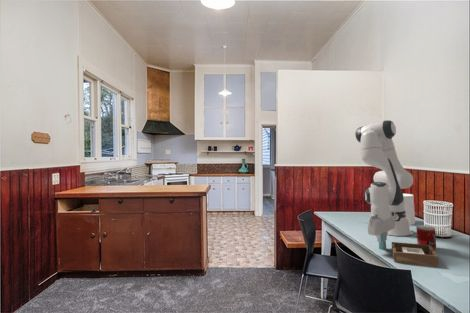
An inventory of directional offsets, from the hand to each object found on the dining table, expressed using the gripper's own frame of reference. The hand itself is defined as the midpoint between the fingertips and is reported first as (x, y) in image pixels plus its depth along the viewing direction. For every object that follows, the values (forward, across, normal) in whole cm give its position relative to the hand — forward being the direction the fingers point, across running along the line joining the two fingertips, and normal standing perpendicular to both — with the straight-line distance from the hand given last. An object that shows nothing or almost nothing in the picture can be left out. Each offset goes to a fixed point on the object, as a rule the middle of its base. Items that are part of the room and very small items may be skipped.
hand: (382, 240), depth 137 cm
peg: (+5, 0, 0) cm, 5 cm away
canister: (+5, +66, +20) cm, 70 cm away
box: (+5, -3, -15) cm, 16 cm away
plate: (+4, -3, -15) cm, 16 cm away
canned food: (+5, +18, -13) cm, 23 cm away
